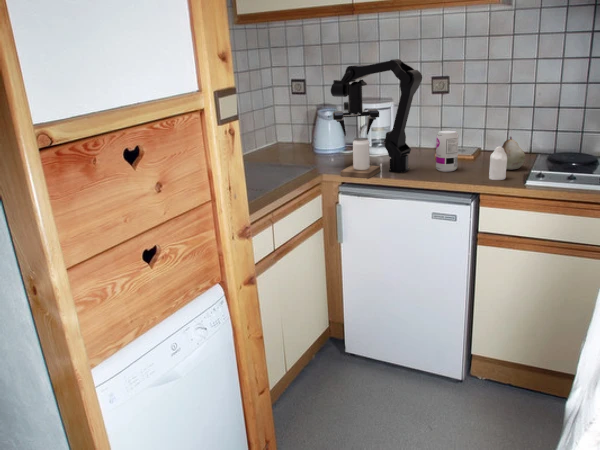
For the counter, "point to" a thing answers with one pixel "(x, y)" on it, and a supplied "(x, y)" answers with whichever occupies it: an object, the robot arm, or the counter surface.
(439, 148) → the supplement can
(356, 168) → the can
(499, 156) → the white bottle
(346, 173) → the base
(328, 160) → the counter surface
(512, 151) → the fruit
